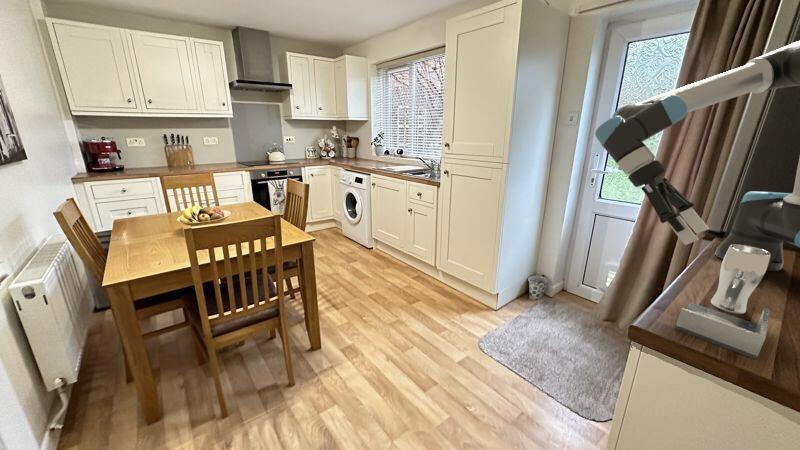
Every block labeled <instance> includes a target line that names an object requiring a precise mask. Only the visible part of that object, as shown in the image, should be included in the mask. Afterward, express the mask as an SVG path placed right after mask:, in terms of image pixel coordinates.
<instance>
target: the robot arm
mask: <svg viewBox="0 0 800 450" xmlns="http://www.w3.org/2000/svg"><path fill="white" fill-rule="evenodd" d="M798 86H799V87H800V40H798V41H797V40H796V41H795V42H792V43H790V44H788V45H784V46H783V47H780V48H778V49H776V50H772V51H770V52H767V53H766V54H763V55H760V56H758V57H754V58H751V59H750V60H748V61H747V62H746V63H745V64H744V65H743V66H740V67H737V68H734V69H731V70H728V71H726V72H723V73H720V74H717V75H714V76H710V77H708V78H706V79H703V80H699V81H697V82H694V83H691V84H687V85H685V86H682V87H680V88H677V89H673V90H671V91H668V92H665V93H663V94H659V95H656V96H654V97H650V98H648V99H646V100H643V101H639V102H636V103H634V104H627V105H624V106H621V107H619V108H617V110H615V112H614V113H613V114H612V117H610V118H609V119H607V120H606V121H603V123H602V124H601V125H599V126H598V127H597V128H596V130H595V133H594V135H595V137H596V140H598V142H599V143H600V145H601V147H603V149H604V150H605V151H606V153H608V154H609V156H610V157H611V158H612V159H613V160H614V161H615V163H616V164H617V165H618V167H617V169H618V170H619V171H623V172H622V173H624V175H628V180H629V181H630V182H631V183H632V185H633V186H634V187H636V188H639V187H641V186H642V187H641V190H642V191H643V193H644V194H645V195H646V197H647V199H648V200H649V202H650V204H651V207H652V208H653V209H654V211H655V212H656V214H657V216H658V218H659V221H660V223H661V224H664V223H667V224H668V226H669V227H670V228H671V230H673V232H674V233H675V234H676V236H677V237H678V239H679V240H680V241H681V243H683V245H684V246H686V245H689V244H692V243H694V242H697V241H699V240H700V239H699V238H698V236H697V235H698V234H700V233H703V232H705V231H708V230H709V229H710V227H709V226H708V225H707V223H706V222H704V220H703V219H702V218H701V217H700V215H698V213H697V212H696V211H695V210H694V209H693V207H695V203H693V202H691V201H690V200H689V199H687V198H686V197H685V196H684V195H683V194H682V193H681V192H680V191H679V190H678V189H677V188H676V187H674V186H673V184H671V183H670V181H669V180H668V179H667V178H666V177H664V178H662V177H660V176H662V175H664V174H665V173H666V170H667V169H666V168H665V167H664V166H663V164H662V163H661V162H660V161H659V160H655V159H656V156H655V154H654V153H653V152H652V151H651V149H650V148H648V146H647V145H646V144H645V143H644V141H646V140H648V139H650V138H652V137H653V136H656V135H657V134H659V133H661V132H662V131H664V130H667V129H668V128H669V127H672V126H674V125H675V124H677V123H678V122H680V121H681V120H683V119H684V118H685V117H686V116H687V115H688V113H691V112H694V111H697V110H700V109H703V108H706V107H709V106H713V105H716V104H719V103H722V102H725V101H728V100H731V99H734V98H736V97H740V96H743V95H746V94H749V93H752V94H761V93H764V92H767V91H769V90H777V89H782V88H789V87H798ZM643 185H644V186H643ZM675 209H676V210H678V211H679V214H680V215H678V214H677V212H676V210H675ZM735 215H736V216H735V219H734V221H733V224H732V227H731V230H730V232H729V234H728V235H727V237H725V239H724V240H722V242H721V243H720V244H719V245H718V246H717V248H716V250H715V252H714V256H715V255H716V256H715V257H716V258H718V257H719V258H718V259H720V258H721V259H720V260H722V259H724V257H725V255H726V253H727V251H728V249H729V247H730V245H733V244H737V245H746V246H751V247H756V248H759V249H763V250H765V251H768V252H770V253H771V256H770V259H769V263H768V266H767V269H766V272H779V271H781V270H782V269H783V265H784V249H783V245H784V242H786V243H789V244H791V245H794V246H796V247H798V248H800V156H799V159H798V164H797V168H796V174H795V180H794V186H793V191H792V192H791V193H789V192H775V191H759V190H755V191H753V190H751V191H748V192H746V193H745V194H744V195H743V197H742V199H741V201H740V203H739V207H738V210H737V212H736V214H735ZM684 220H685V221H686V222H685V221H684ZM688 225H689V226H690V227H689V226H688ZM692 230H693V231H692Z"/></svg>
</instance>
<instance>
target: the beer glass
mask: <svg viewBox="0 0 800 450" xmlns="http://www.w3.org/2000/svg"><path fill="white" fill-rule="evenodd" d="M770 256H771V253H770V252H768V251H765V250H763V249H759V248H756V247H751V246H746V245H737V244H733V245H730V247H729V249H728V251H727V253H726V255H725V257H724V259H723V260H722V262H721V264H720V265H721V266H720V271H719V279H718V286H717V290H716V292H715V293H714V295H713V297H712V298H711V299H710V303H711V305H712V306H713V307H715V308H717V309H719V310H722V311H724V312H727V313H731V314H737V315H742V314H745V313H746V311H747V307H748V306H747V304H748V302H749V301H748V300H749V298H750V296H751V295H752V294H753V291H755V289H756V288H757V287H758V285H759V284H760V282H761V281H762V280H763V278H764V276H765V274H766V272H767V271H766V269H767V266H768V263H769V259H770Z"/></svg>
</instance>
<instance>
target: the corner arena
mask: <svg viewBox="0 0 800 450" xmlns="http://www.w3.org/2000/svg"><path fill="white" fill-rule="evenodd" d="M770 312H771V309H768V308H763V311H762V313H761V315H760V317H759V320H758V322H757V323H755V322H752V321H749V320H747V319H742V318H740V317H737V316H733V315H731V314H729V313H725V312H722V311H719V310H716V309H713V308H709V307H707V306H703V305H701V304H697V303H694V302H689V303H688V305H687V307H686V308H684V307H681V309H680V313H679V315H678V317H677V321H676V324H675V326H674V329H676V330H678V331H681V332H682V333H685V334H689V335H690V336H694V337H695V338H699V339H701V340H703V341H704V340H705V341H707V342H710V343H711V344H714V345H717V346H719V347H722V348H724V349H727V350H730V351H732V352H735V353H738V354H740V355H743V356H746V357H747V358H750V359H753V360H757V358H758V356H759V354H760V351H761V349H762V348H763V345H764V343H765V340H766V339H767V332H768V326H769V320H770Z"/></svg>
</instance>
